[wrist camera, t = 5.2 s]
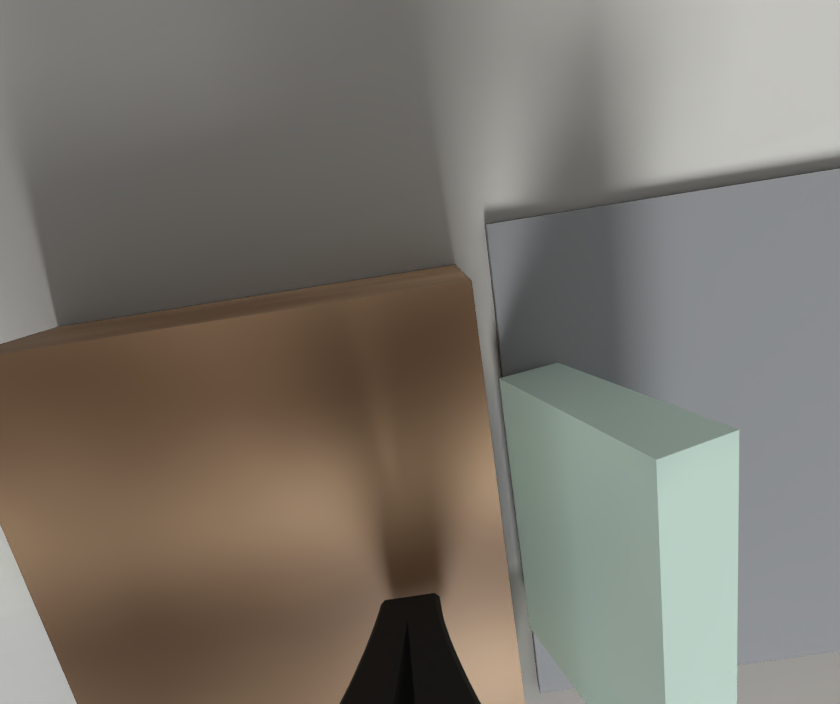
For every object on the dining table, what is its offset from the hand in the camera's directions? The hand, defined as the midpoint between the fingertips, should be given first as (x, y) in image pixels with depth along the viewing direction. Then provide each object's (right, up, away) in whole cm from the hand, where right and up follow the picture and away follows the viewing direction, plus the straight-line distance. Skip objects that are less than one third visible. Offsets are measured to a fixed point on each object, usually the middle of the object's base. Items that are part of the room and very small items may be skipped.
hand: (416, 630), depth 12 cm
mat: (+9, +3, +4) cm, 11 cm away
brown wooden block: (-4, +1, +5) cm, 6 cm away
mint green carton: (+4, +1, +1) cm, 4 cm away
